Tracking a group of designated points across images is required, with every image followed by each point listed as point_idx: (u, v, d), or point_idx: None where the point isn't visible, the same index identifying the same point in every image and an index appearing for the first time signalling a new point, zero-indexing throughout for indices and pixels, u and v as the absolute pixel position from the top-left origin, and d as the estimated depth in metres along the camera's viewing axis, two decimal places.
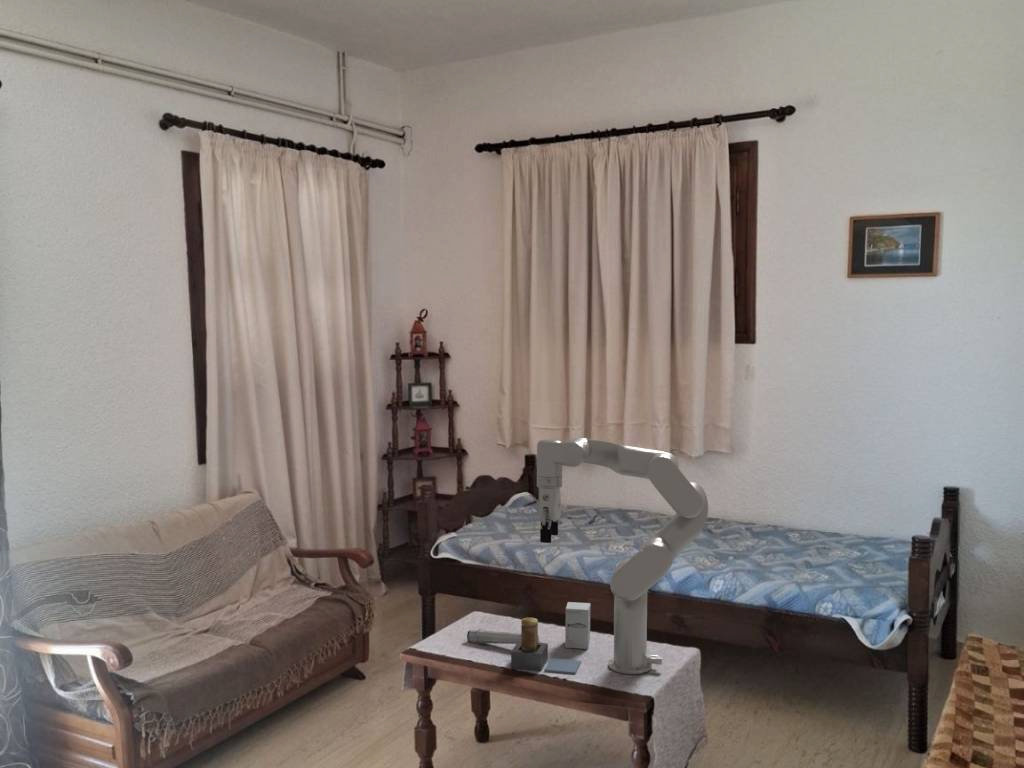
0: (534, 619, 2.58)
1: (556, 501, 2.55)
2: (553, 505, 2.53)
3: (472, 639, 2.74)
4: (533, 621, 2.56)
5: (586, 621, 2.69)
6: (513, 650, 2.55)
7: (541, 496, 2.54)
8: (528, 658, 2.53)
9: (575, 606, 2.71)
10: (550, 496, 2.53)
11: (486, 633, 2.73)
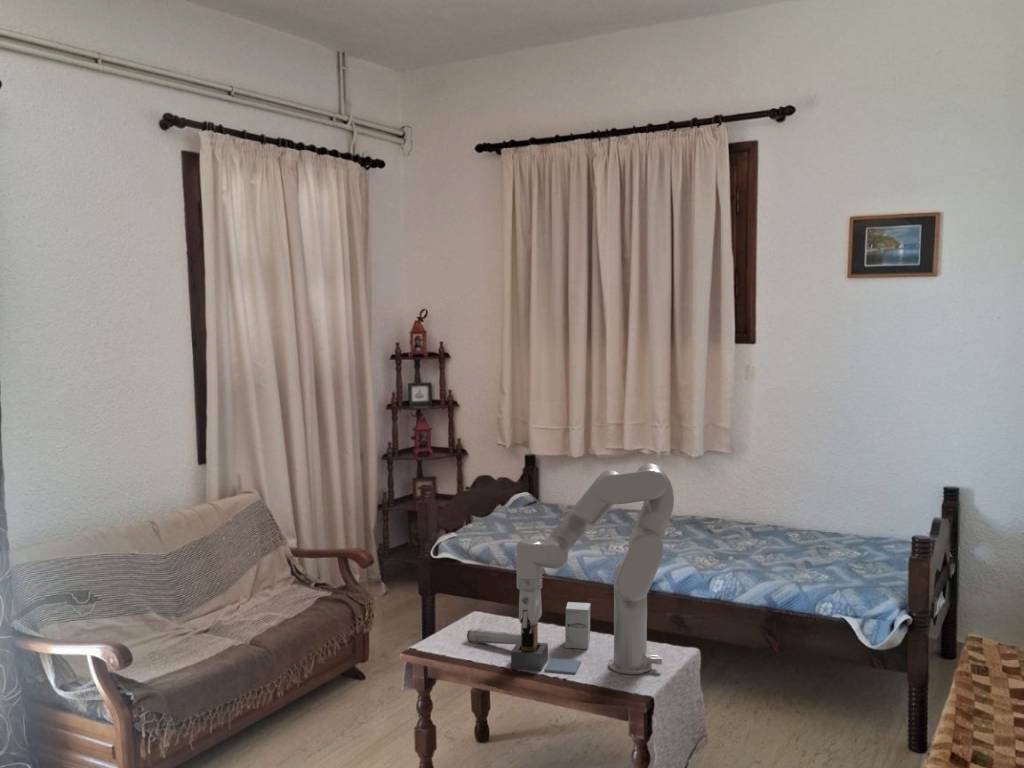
0: None
1: (536, 603, 2.53)
2: (533, 608, 2.51)
3: (472, 638, 2.75)
4: None
5: (586, 621, 2.69)
6: (513, 650, 2.55)
7: (521, 599, 2.52)
8: (528, 658, 2.53)
9: (575, 606, 2.71)
10: (530, 599, 2.52)
11: (485, 633, 2.73)
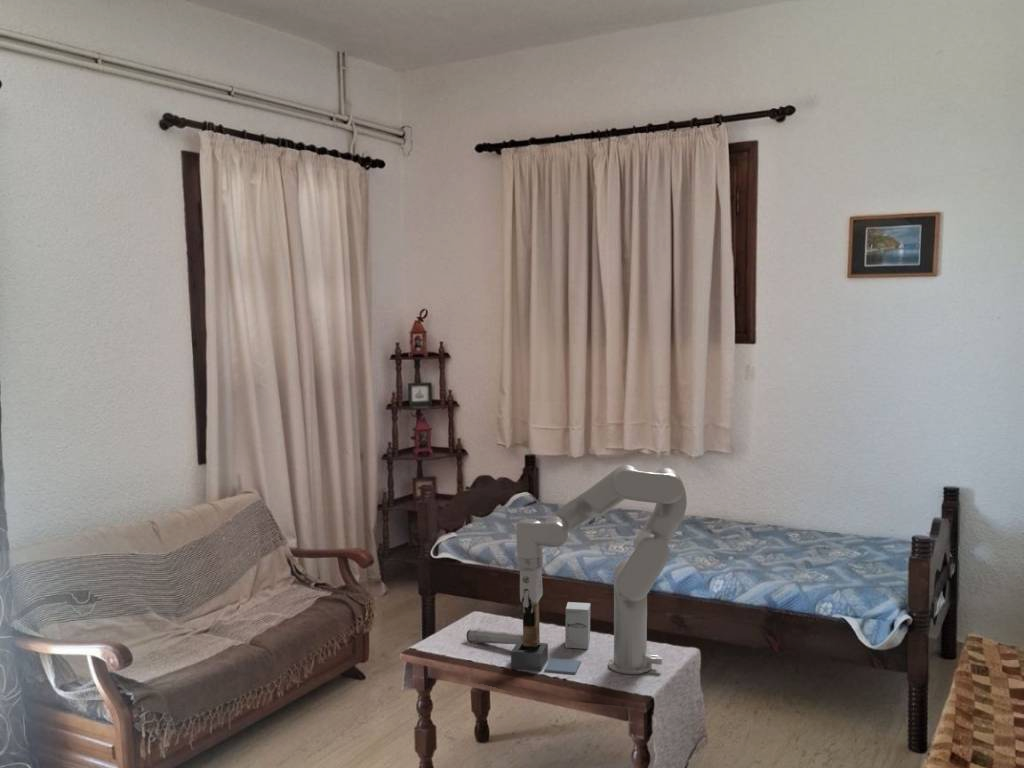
0: None
1: (537, 583, 2.53)
2: (534, 587, 2.51)
3: (471, 638, 2.75)
4: None
5: (586, 621, 2.69)
6: (513, 650, 2.55)
7: (521, 578, 2.52)
8: (528, 658, 2.53)
9: (575, 606, 2.71)
10: (530, 578, 2.51)
11: (485, 633, 2.73)
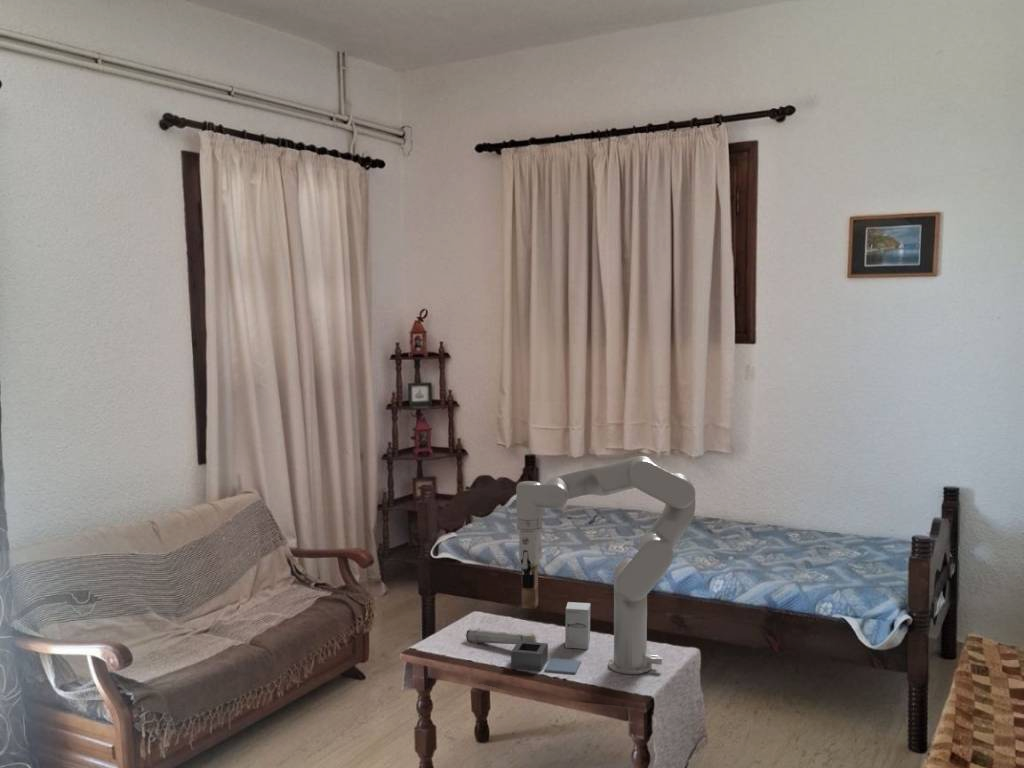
0: None
1: (536, 544, 2.52)
2: (533, 548, 2.50)
3: (471, 638, 2.75)
4: None
5: (586, 621, 2.69)
6: (513, 650, 2.55)
7: (521, 539, 2.51)
8: (528, 658, 2.53)
9: (575, 606, 2.71)
10: (530, 539, 2.51)
11: (485, 633, 2.73)
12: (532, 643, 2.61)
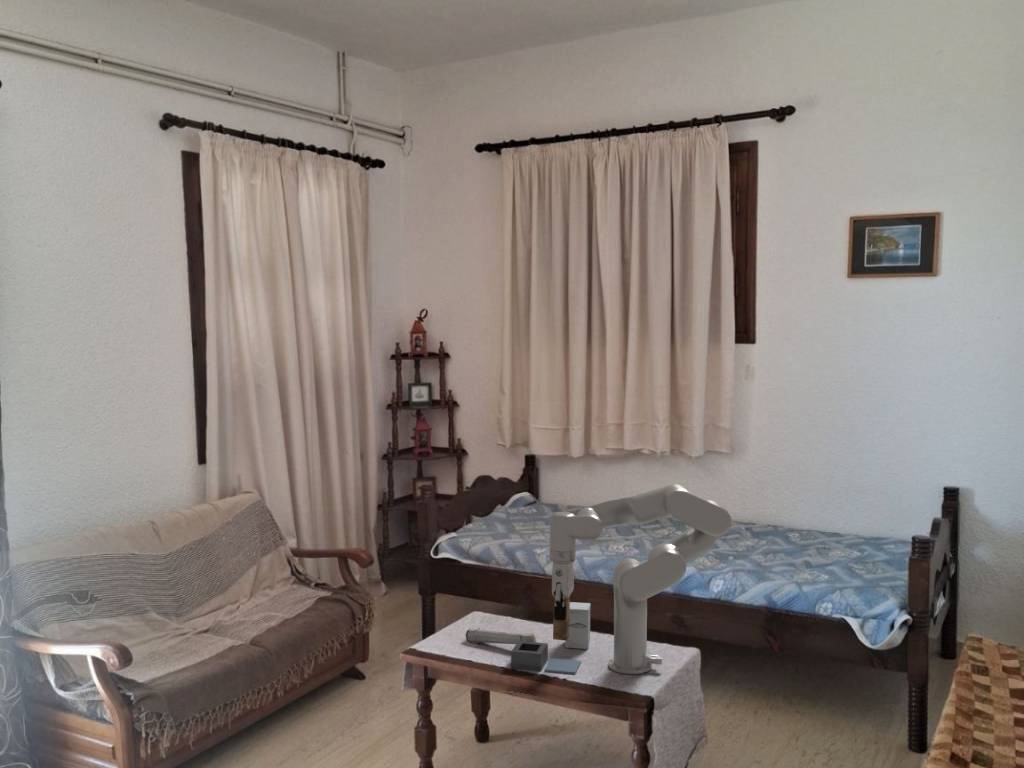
0: None
1: (569, 576, 2.50)
2: (566, 581, 2.48)
3: (470, 638, 2.75)
4: None
5: (586, 621, 2.69)
6: (513, 650, 2.55)
7: (554, 571, 2.49)
8: (528, 658, 2.53)
9: (575, 606, 2.71)
10: (563, 571, 2.49)
11: (484, 633, 2.73)
12: (532, 643, 2.61)
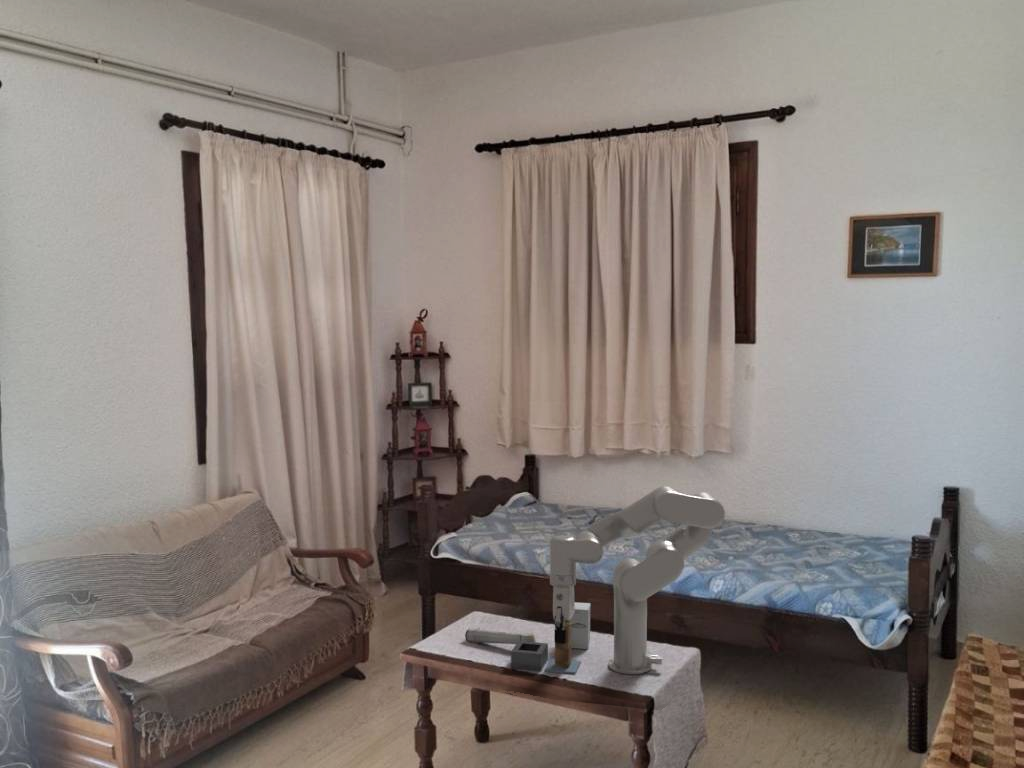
0: None
1: (570, 600, 2.51)
2: (567, 605, 2.49)
3: (470, 638, 2.75)
4: (566, 621, 2.53)
5: (586, 621, 2.69)
6: (513, 650, 2.55)
7: (555, 595, 2.50)
8: (528, 658, 2.53)
9: (575, 606, 2.71)
10: (564, 595, 2.49)
11: (484, 632, 2.73)
12: (532, 643, 2.61)
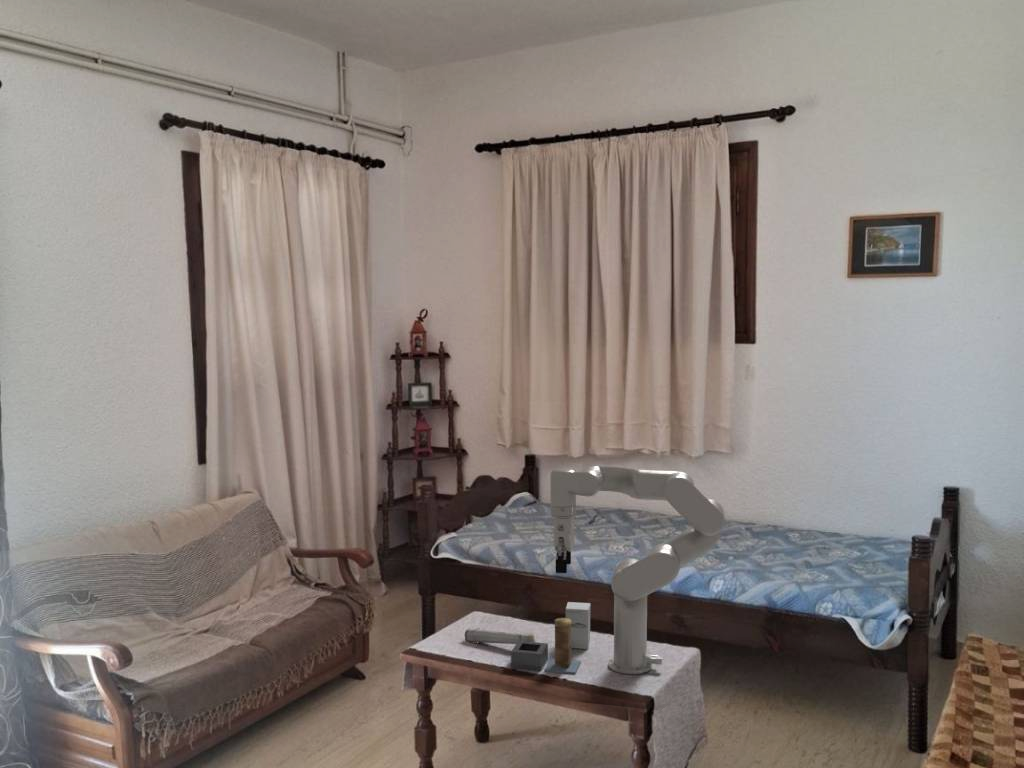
0: (567, 620, 2.55)
1: (571, 531, 2.54)
2: (568, 535, 2.52)
3: (470, 638, 2.75)
4: (566, 621, 2.53)
5: (586, 621, 2.69)
6: (513, 650, 2.55)
7: (556, 526, 2.53)
8: (528, 658, 2.53)
9: (575, 606, 2.71)
10: (565, 526, 2.52)
11: (483, 632, 2.73)
12: (532, 643, 2.61)
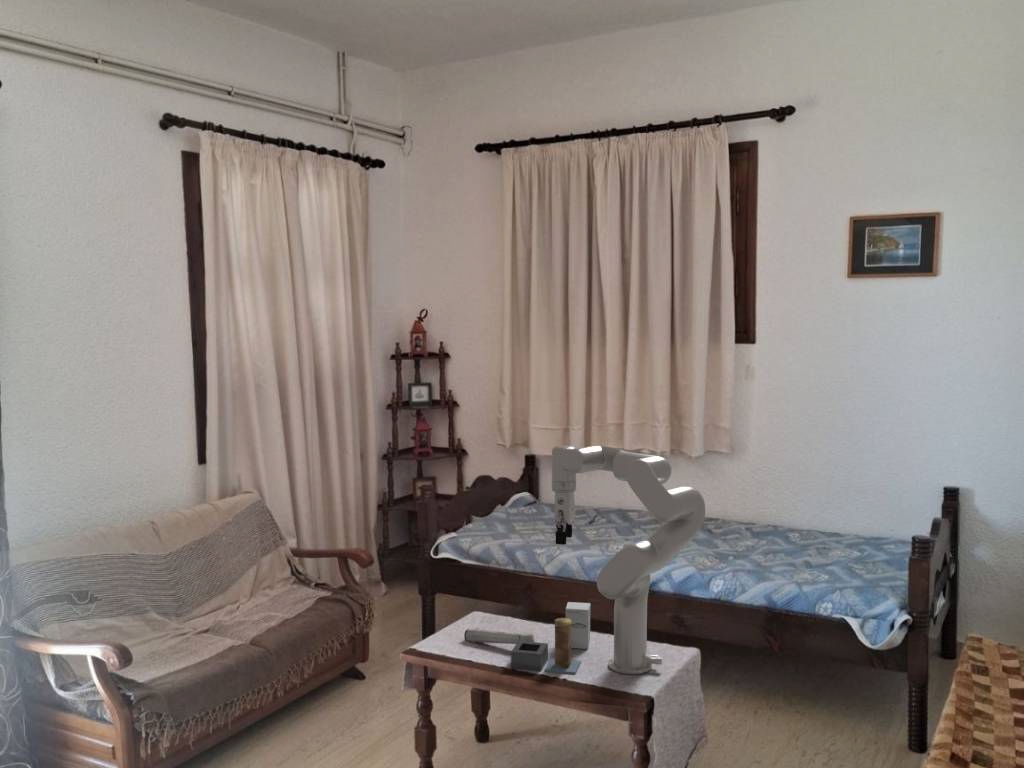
0: (567, 620, 2.55)
1: (570, 504, 2.66)
2: (568, 508, 2.65)
3: (469, 638, 2.75)
4: (566, 621, 2.53)
5: (586, 621, 2.69)
6: (513, 650, 2.55)
7: (556, 500, 2.66)
8: (528, 658, 2.53)
9: (575, 606, 2.71)
10: (565, 500, 2.65)
11: (483, 632, 2.74)
12: (532, 643, 2.61)
